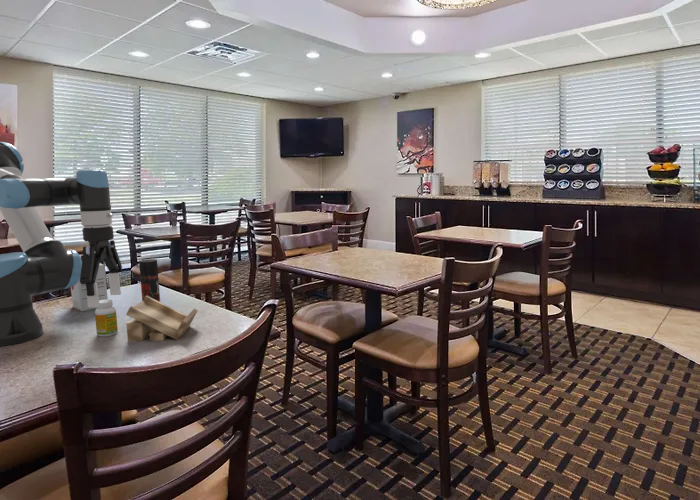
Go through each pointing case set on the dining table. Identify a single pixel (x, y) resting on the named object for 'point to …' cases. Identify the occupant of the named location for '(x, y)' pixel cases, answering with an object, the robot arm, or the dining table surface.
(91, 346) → the dining table surface
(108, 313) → the supplement bottle
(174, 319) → the cradle
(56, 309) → the dining table surface
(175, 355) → the dining table surface
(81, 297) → the supplement box
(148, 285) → the deodorant
